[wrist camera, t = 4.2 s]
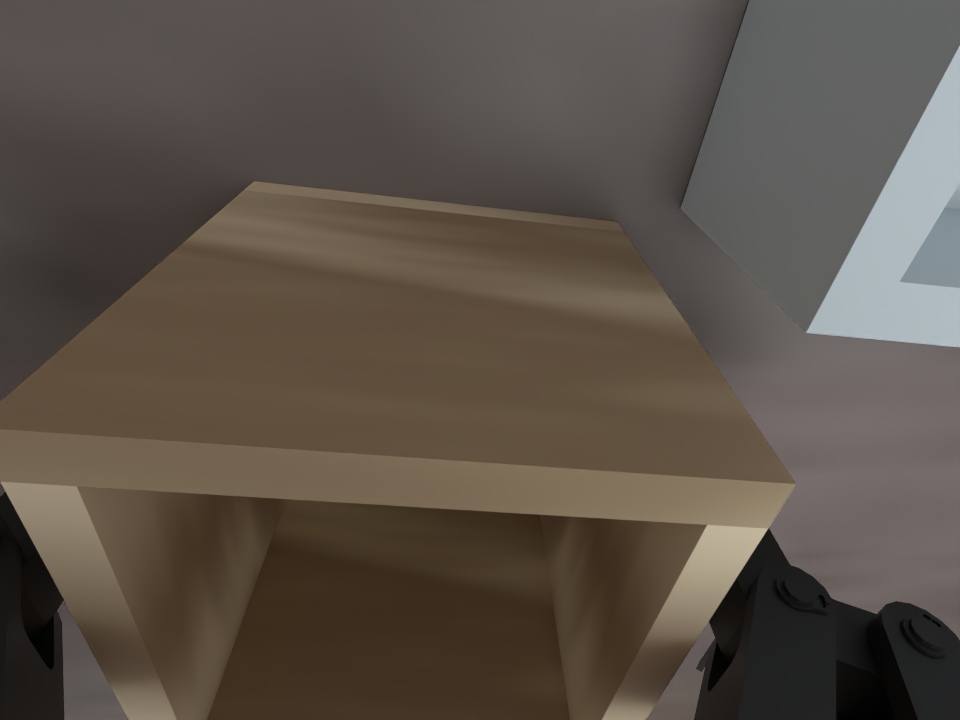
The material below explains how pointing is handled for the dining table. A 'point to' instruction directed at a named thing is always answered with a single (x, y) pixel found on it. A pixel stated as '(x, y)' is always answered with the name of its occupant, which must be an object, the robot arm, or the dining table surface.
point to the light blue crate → (841, 165)
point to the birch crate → (389, 469)
